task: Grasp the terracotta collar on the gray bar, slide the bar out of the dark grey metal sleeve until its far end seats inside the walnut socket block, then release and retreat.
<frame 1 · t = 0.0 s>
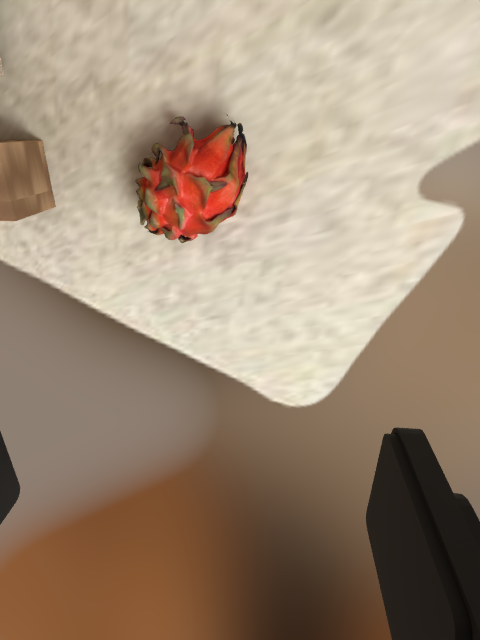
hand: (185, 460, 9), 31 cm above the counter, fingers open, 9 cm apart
socket block: (17, 174, 38), on the counter
dragon fruit: (201, 176, 36), on the counter
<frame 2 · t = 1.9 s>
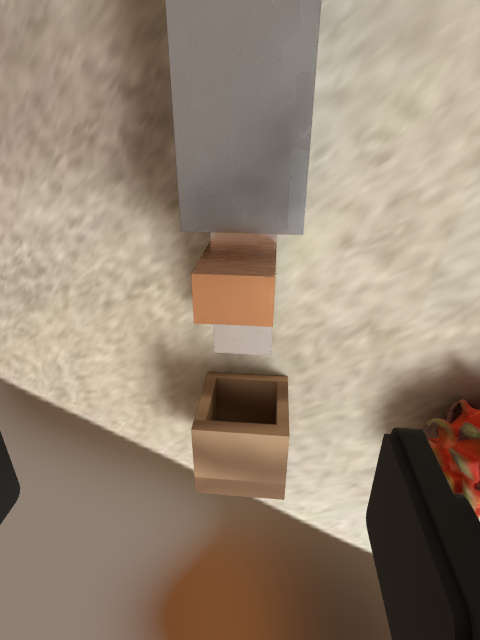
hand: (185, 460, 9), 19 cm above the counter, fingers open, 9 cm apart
sleeve: (251, 82, 22), on the counter
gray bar: (242, 179, 19), point 6 cm above the counter, slide at 0.0 cm
socket block: (247, 403, 32), on the counter
dragon fruit: (470, 415, 31), on the counter
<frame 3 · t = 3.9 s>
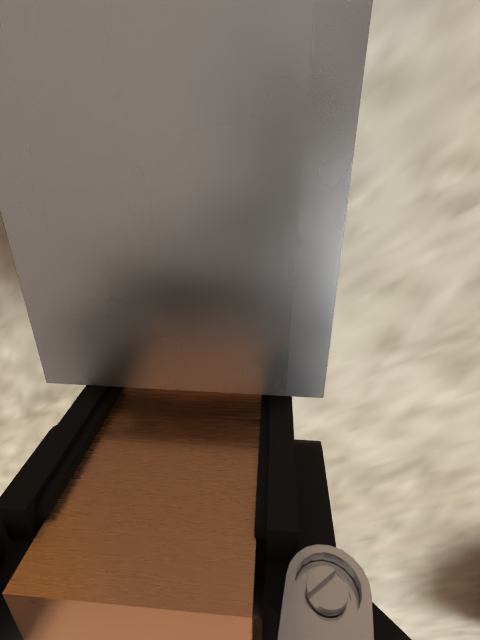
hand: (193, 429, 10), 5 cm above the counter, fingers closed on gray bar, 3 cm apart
sleeve: (213, 55, 11), on the counter
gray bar: (178, 275, 8), point 6 cm above the counter, slide at 0.0 cm, touching gripper
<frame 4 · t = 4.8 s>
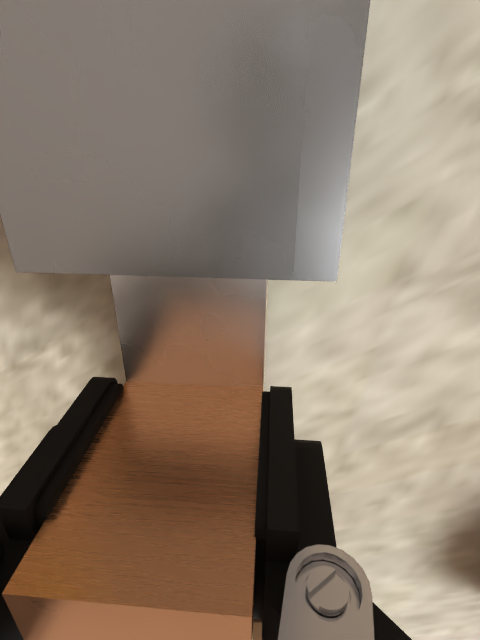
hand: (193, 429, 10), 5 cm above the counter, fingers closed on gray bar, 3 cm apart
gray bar: (177, 275, 8), point 6 cm above the counter, slide at 2.7 cm, touching gripper
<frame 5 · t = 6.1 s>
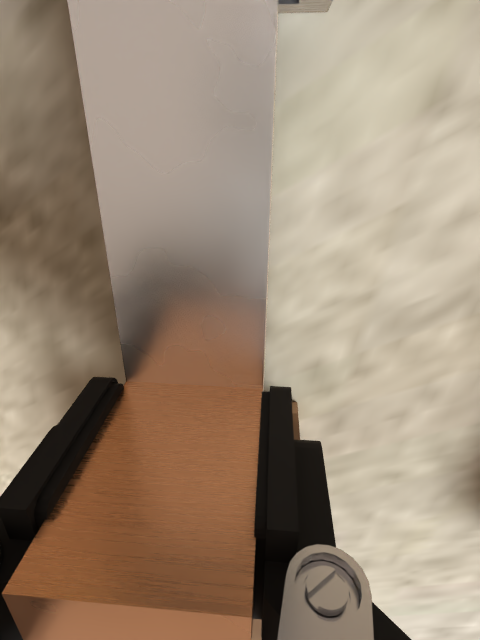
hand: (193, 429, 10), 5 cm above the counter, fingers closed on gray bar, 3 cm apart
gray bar: (178, 275, 8), point 6 cm above the counter, slide at 8.0 cm, touching gripper
socket block: (222, 450, 18), on the counter
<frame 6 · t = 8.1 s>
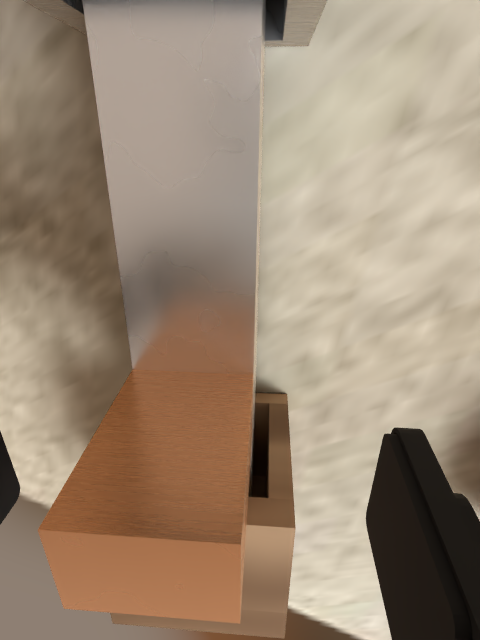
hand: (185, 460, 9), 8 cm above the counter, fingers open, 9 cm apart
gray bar: (179, 274, 9), point 6 cm above the counter, slide at 8.0 cm
socket block: (217, 441, 19), on the counter
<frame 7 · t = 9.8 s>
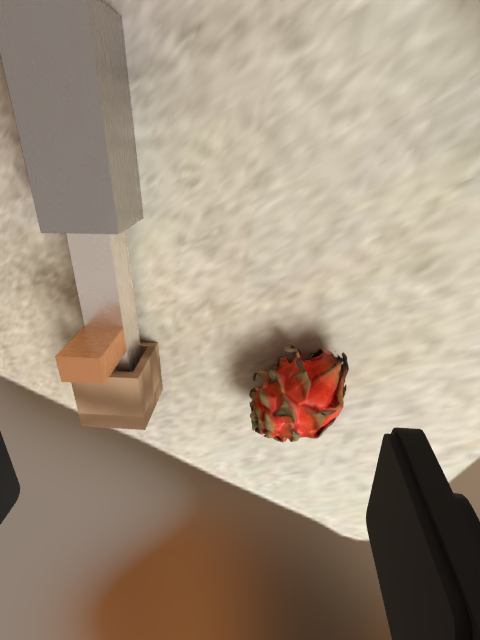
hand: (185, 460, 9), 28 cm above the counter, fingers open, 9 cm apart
sleeve: (97, 132, 32), on the counter
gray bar: (94, 296, 33), point 6 cm above the counter, slide at 8.0 cm
socket block: (131, 365, 42), on the counter
dragon fruit: (296, 371, 41), on the counter
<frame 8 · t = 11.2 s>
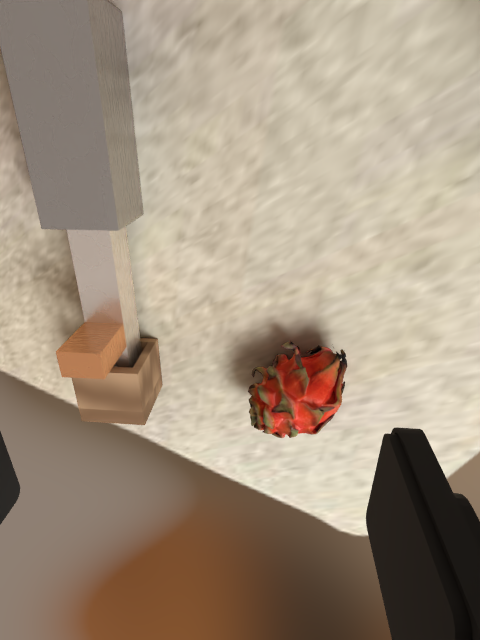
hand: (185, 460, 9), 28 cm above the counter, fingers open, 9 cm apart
sleeve: (98, 128, 32), on the counter
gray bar: (94, 292, 33), point 6 cm above the counter, slide at 8.0 cm
socket block: (131, 361, 43), on the counter
dragon fruit: (295, 368, 42), on the counter
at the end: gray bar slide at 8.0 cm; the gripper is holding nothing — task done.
